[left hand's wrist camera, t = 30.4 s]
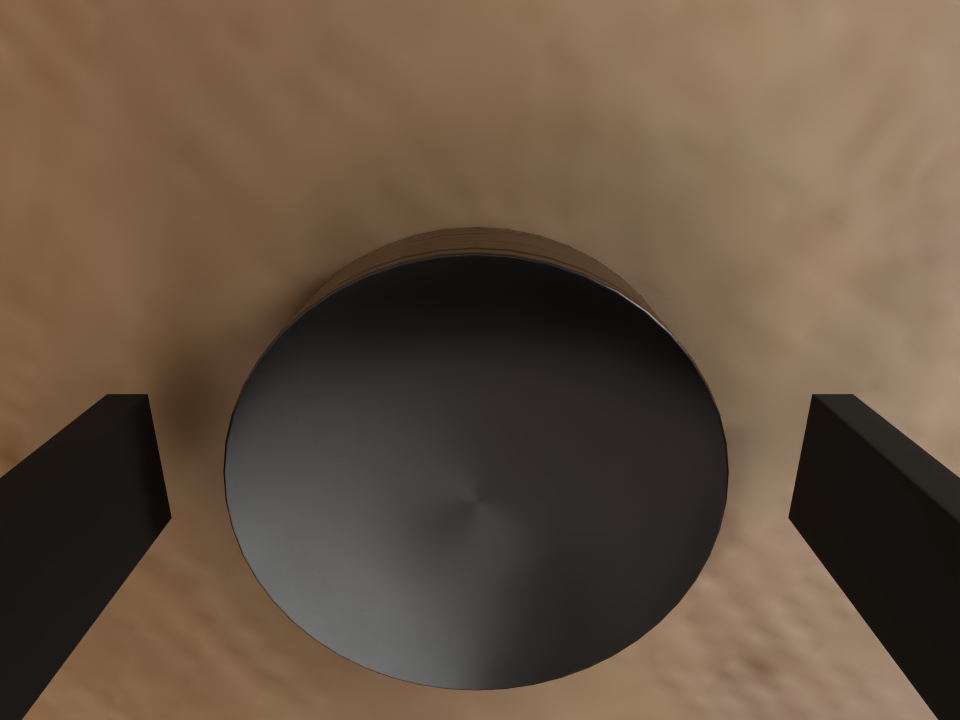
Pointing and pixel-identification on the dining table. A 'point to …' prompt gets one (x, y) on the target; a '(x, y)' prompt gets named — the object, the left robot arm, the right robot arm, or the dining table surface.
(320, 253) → the dining table surface
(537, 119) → the dining table surface
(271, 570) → the lid
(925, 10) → the dining table surface
